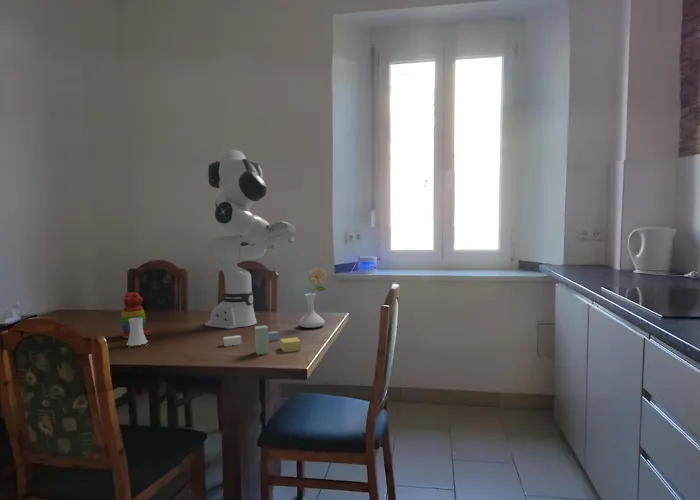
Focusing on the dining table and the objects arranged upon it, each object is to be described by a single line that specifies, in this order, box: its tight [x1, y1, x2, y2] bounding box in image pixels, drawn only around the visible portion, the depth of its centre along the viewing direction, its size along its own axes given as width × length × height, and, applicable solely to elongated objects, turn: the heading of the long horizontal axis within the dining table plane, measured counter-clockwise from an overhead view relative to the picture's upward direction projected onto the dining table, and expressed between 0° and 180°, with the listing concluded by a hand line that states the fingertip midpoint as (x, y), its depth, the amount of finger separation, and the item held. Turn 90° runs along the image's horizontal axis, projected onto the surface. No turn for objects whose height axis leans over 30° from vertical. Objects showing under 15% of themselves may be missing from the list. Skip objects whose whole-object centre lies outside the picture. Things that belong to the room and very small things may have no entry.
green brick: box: [254, 325, 270, 356], centre depth 169 cm, size 4×4×9 cm
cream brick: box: [222, 334, 243, 347], centre depth 181 cm, size 6×3×3 cm, turn 114°
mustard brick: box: [279, 336, 302, 353], centre depth 173 cm, size 6×6×4 cm
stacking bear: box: [120, 291, 152, 336], centre depth 199 cm, size 11×10×18 cm
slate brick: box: [268, 330, 280, 342], centre depth 186 cm, size 6×3×3 cm, turn 113°
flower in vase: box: [297, 267, 328, 329], centre depth 206 cm, size 13×11×25 cm
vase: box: [125, 318, 149, 346], centre depth 184 cm, size 8×8×10 cm
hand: (282, 244), depth 176 cm, fingers open, 8 cm apart
